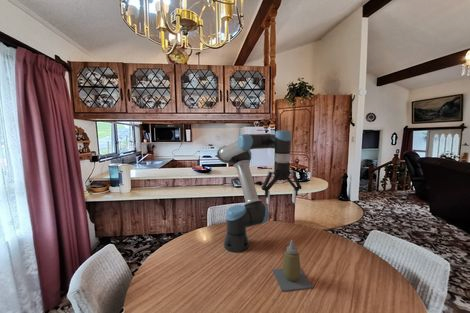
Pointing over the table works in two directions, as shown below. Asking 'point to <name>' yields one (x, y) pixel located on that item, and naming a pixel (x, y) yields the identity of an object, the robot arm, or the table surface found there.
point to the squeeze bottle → (291, 263)
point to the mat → (290, 285)
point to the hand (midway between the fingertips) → (280, 203)
